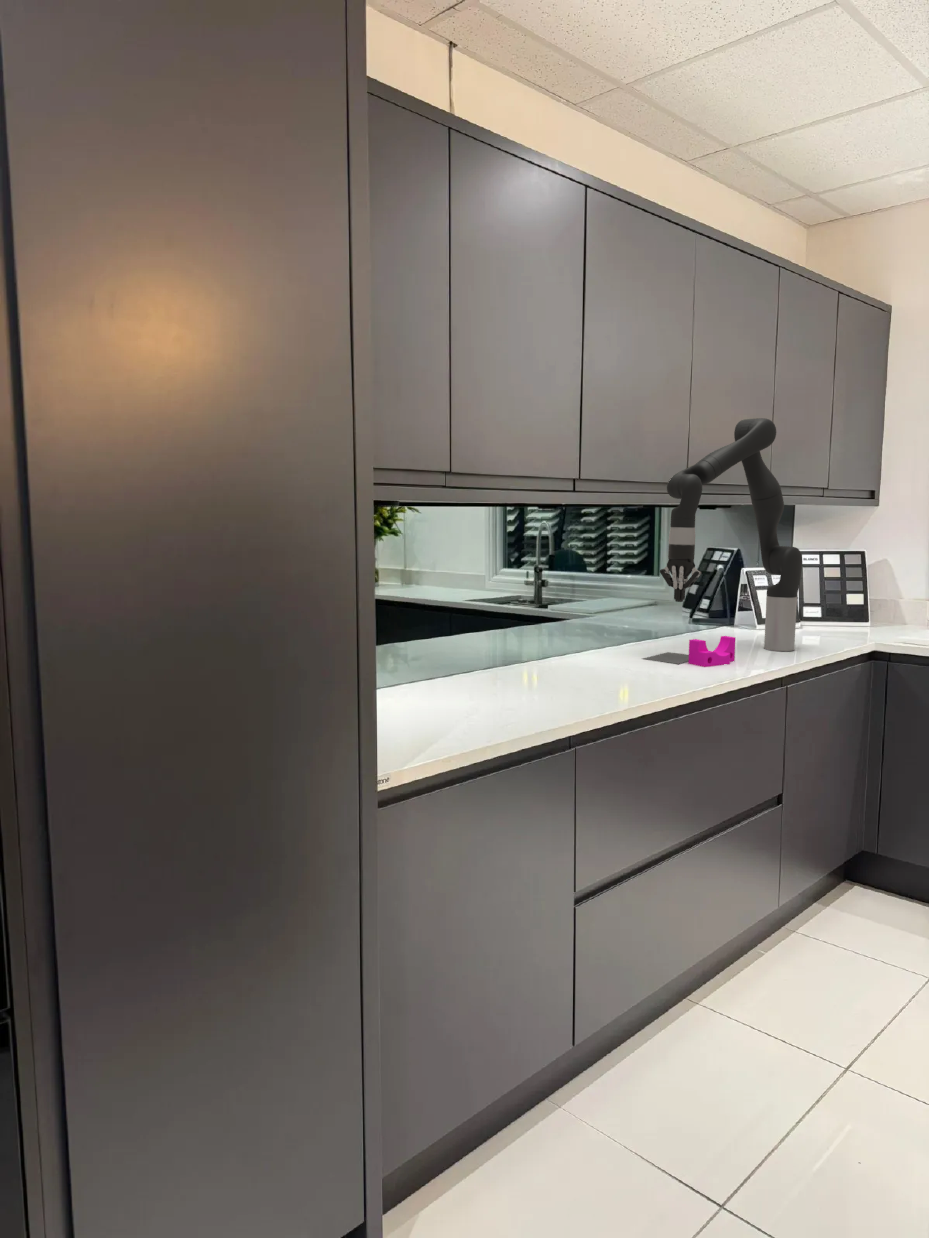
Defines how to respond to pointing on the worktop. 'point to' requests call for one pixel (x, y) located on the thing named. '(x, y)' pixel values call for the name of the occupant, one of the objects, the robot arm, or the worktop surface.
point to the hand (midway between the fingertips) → (679, 601)
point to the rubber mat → (670, 658)
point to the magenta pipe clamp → (712, 652)
